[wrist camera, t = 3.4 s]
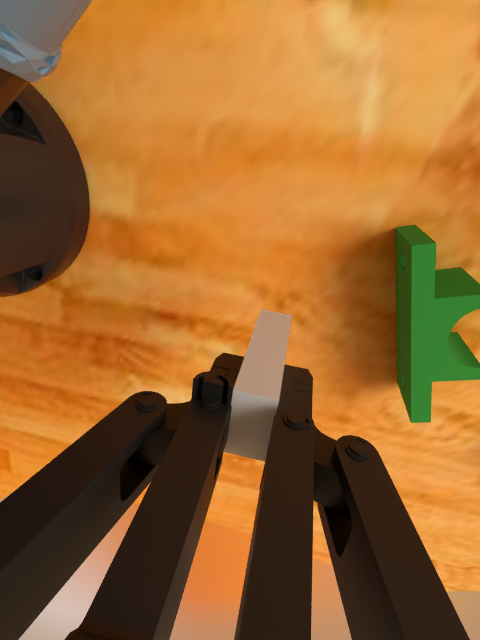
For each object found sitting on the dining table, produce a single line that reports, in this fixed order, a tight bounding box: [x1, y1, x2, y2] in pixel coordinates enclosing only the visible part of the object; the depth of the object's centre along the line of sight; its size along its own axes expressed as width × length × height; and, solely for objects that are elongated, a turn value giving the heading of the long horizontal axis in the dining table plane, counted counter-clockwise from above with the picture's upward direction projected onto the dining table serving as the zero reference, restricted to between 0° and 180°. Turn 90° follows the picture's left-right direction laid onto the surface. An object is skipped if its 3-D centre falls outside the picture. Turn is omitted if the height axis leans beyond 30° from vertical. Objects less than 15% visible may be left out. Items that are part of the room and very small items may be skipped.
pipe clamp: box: [396, 225, 480, 423], centre depth 23 cm, size 11×4×5 cm, turn 10°
